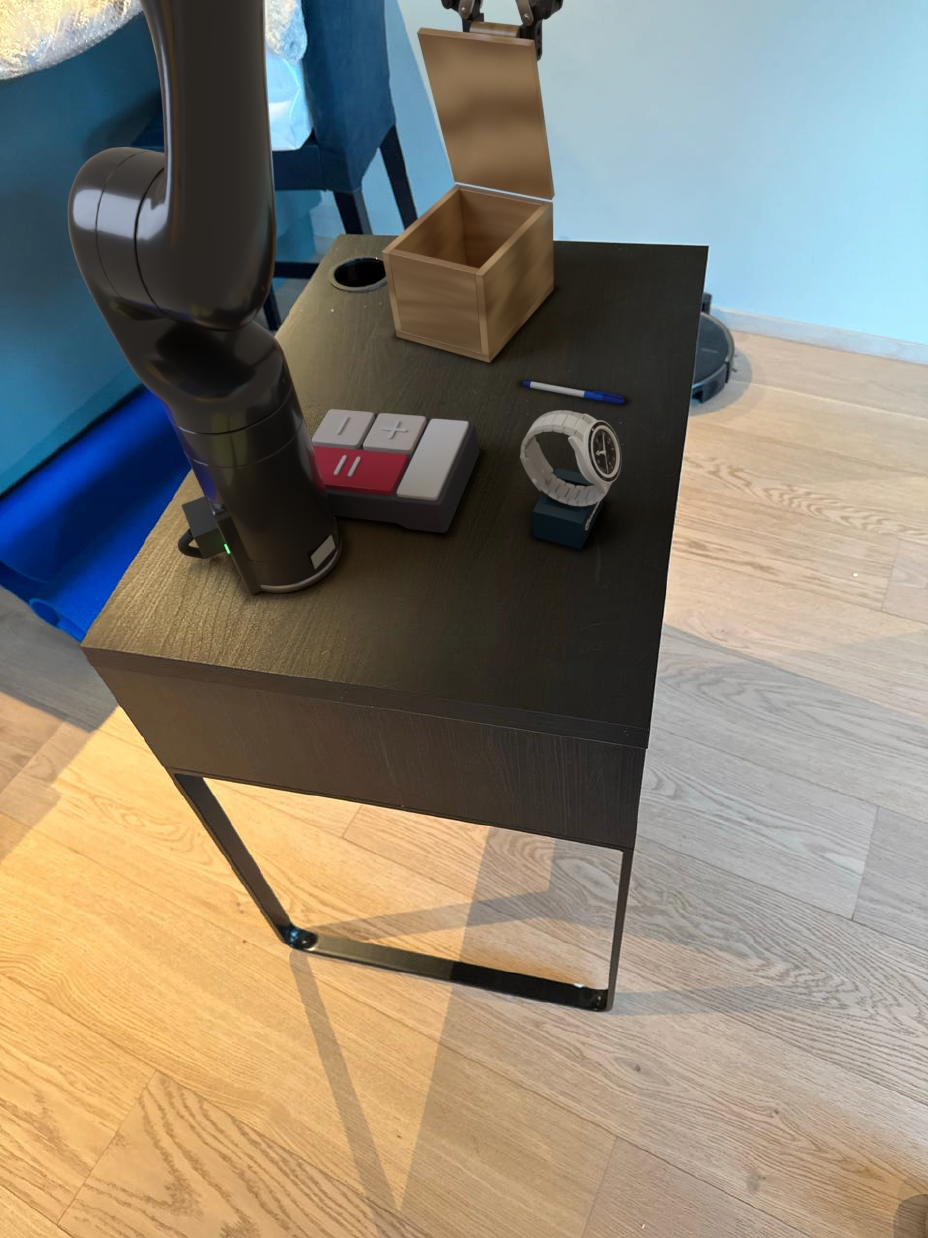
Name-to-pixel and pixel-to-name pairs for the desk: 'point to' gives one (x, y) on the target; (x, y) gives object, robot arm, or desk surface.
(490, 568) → the desk surface
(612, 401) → the ballpoint pen
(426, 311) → the chest
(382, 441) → the calculator
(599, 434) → the watch
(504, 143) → the chest lid
